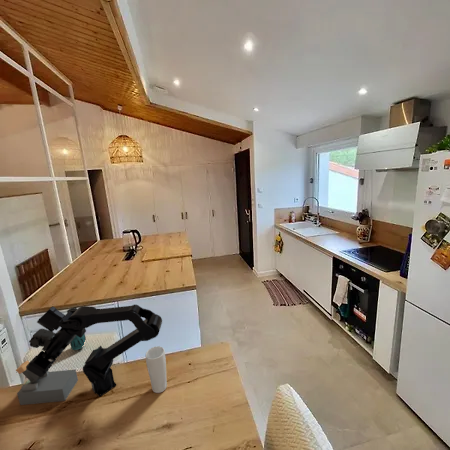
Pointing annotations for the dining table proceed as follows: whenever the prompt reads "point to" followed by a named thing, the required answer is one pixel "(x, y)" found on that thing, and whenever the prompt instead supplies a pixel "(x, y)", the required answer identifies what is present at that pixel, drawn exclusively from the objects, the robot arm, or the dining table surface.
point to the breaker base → (48, 388)
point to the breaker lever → (27, 372)
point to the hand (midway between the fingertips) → (39, 366)
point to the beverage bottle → (77, 338)
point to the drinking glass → (157, 368)
